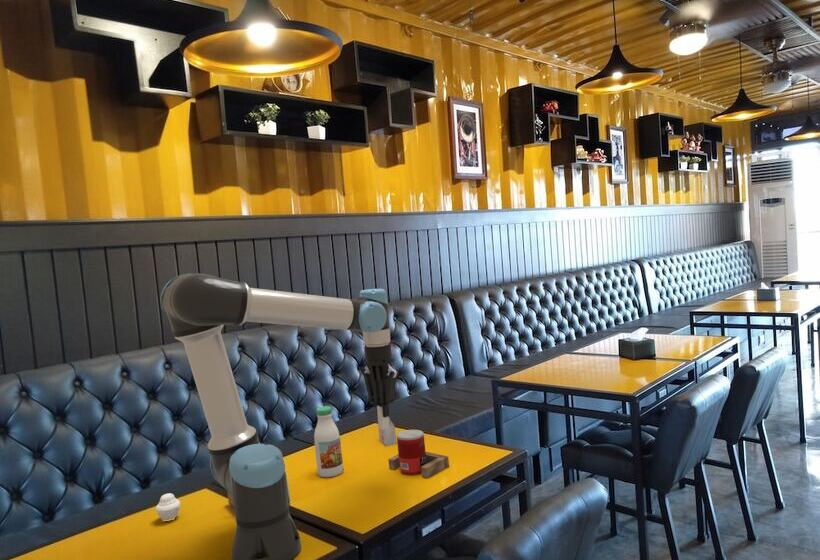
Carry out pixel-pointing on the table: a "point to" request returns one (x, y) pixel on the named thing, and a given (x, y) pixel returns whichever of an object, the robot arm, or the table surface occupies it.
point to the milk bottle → (327, 444)
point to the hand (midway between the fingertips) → (383, 427)
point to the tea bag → (388, 435)
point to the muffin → (168, 507)
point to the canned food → (411, 451)
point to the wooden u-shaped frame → (432, 467)
